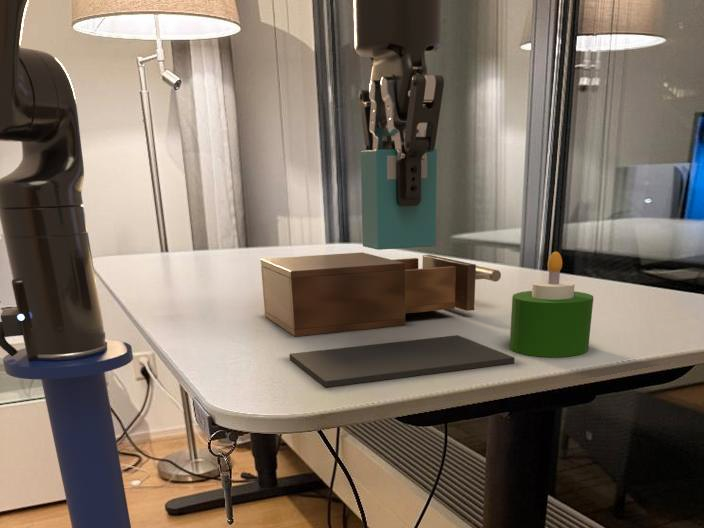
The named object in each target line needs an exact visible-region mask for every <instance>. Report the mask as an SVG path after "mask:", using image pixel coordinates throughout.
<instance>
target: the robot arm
mask: <svg viewBox="0 0 704 528" xmlns="http://www.w3.org/2000/svg"><path fill="white" fill-rule="evenodd" d="M28 3H29V0H0V142H8V143H9V142H12V143H13V142H14V143H15V142H16V143H21V149H22V151H21V152H22V158H21V161H20V163H19V165H18V166H17V167H16V168H15V169H14V170H13V171H11V172H10V173H8V174H6V175H5V176H3V177H1V178H0V224H1V230H2V234H3V235H2V236H3V239H4V244H5V248H6V253H7V258H8V264H9V267H10V272H11V277H12V279H11V286H12V291H13V295H14V301H15V304H16V308H5V309H4V308H3V309H2V312H1V314H0V320H1V321H0V348H1V349H2V350H4V351H5V352H6V353H7V354H10V355H11V356H14V355H15V354H16V353H18V351H17V350H18V349H16V348H15V347H14V346H13V345H12V344H10V343H9V342H8V341H7V340H6V338H9V337H21V336H22V338H23V342H24V348H26V352H27V357H28V361H29V362H31V361H67V360H76V359H82V358H87V357H92V356H96V355H99V354H101V353H104V352H105V351H107V350H108V345H107V341H106V340H107V338H106V332H105V327H104V321H103V315H102V309H101V302H100V298H99V297H100V296H99V292H98V290H99V289H98V285H97V279H96V273H95V267H94V262H93V255H92V250H91V244H90V243H91V242H90V237H89V232H88V231H89V230H88V226H87V225H88V224H87V220H86V219H87V218H86V213H85V207H84V205H83V204H84V201H83V191H82V190H83V184H84V178H85V166H84V157H83V147H82V141H81V139H82V138H81V131H80V122H79V114H78V107H77V100H76V96H75V92H74V88H73V85H72V82H71V79H70V77H69V74H68V73H67V71H66V69H65V67H64V66H63V64H62V63H61V62H60V61H59V60H58V58H56V57H55V56H53V55H52V54H51V53H49V52H47V51H43V50H39V49H38V50H37V49H33V48H26V47H21V41H22V35H23V34H22V33H23V27H24V19H25V15H26V11H27V7H28V5H29V4H28ZM353 22H354V23H353V24H354V28H353V29H354V50H355V52H356V53H357V55H359V56H360V57H362V58H369V59H370V60H371V61H372V68H371V74H370V75H371V76H370V83H369V89H359V92H358V96H357V97H358V105H359V111H360V119H361V127H362V134H363V143H364V151H369V150H392V149H395V150H396V158H397V160H398V161H401V162H396V202H397V204H398V205H399V206H417V205H419V204H420V202H421V160H424V159H425V157H426V152H433V151H434V149H436V143H437V135H438V127H439V120H440V115H441V114H440V113H441V107H442V101H443V93H444V87H445V79H444V76H443V75H442V74H429V73H428V67H427V60H426V57H428V56H432V55H435V54H436V53H437V52H439V50H440V49H441V40H442V39H441V38H442V37H441V36H442V34H441V33H442V0H353Z"/></svg>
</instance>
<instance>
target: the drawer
mask: <svg viewBox="0 0 704 528" xmlns="http://www.w3.org/2000/svg"><path fill="white" fill-rule="evenodd" d="M393 260H395V261H399V262H403V263H405V314H413V313H415V314H416V313H425V312H426V313H427V312H435V311H444V310H455V309H460V310H463V311H466V312H468V311H475V301H476V300H475V299H476V298H475V297H476V280H477V281H478V280H486V281H491V282H499V281H500V280H501V277H502V273H501V271H499V270H498V269H495V268H489V267H484V266H479V265H477V264H476V263H471V262H466V261H460V260H456V259H451V258H446V257H443V256H442V257H441V256H438V255H437V256H436V255H432V254H424V255H422V268H419V258H418V257H409V258H397V259H393Z"/></svg>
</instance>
